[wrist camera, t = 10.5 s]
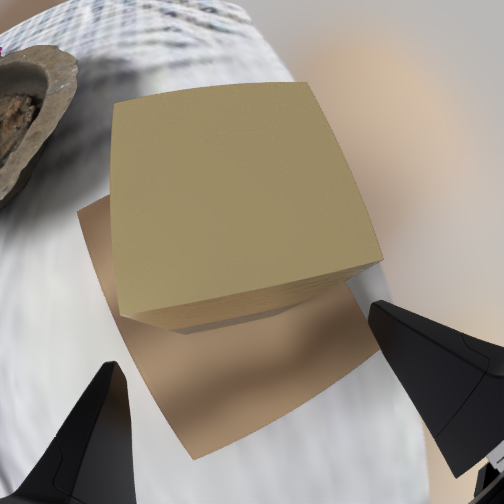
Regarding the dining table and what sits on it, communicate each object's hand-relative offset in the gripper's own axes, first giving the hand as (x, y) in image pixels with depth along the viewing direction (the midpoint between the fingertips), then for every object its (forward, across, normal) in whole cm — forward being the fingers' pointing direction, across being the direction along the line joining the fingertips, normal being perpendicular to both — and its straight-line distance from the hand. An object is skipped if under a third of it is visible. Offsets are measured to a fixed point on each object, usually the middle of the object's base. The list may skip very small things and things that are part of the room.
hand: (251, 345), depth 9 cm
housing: (+8, 0, +3) cm, 9 cm away
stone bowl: (+23, +22, -8) cm, 32 cm away
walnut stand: (+10, 0, +4) cm, 11 cm away
